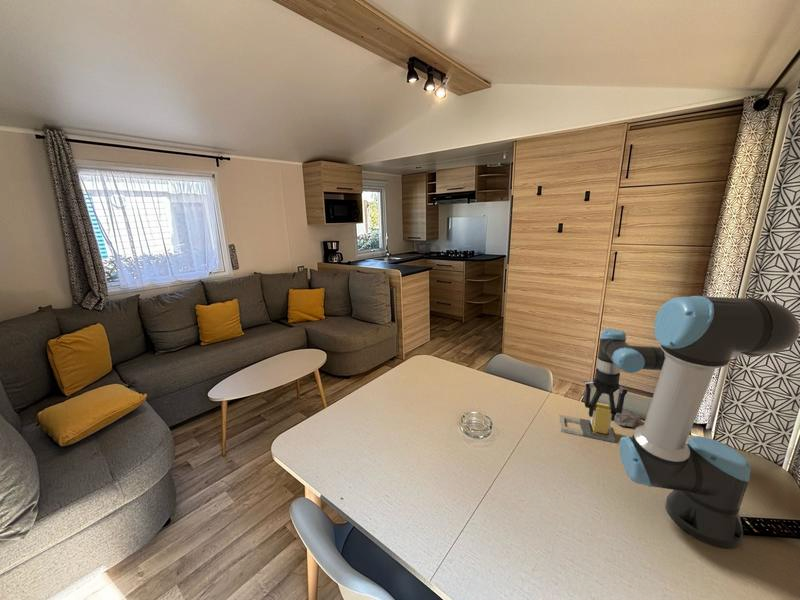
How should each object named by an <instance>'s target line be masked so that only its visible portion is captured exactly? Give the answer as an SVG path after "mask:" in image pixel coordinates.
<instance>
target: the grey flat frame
mask: <svg viewBox="0 0 800 600" xmlns="http://www.w3.org/2000/svg"><path fill="white" fill-rule="evenodd" d="M558 415H559V416H558V419H559V426H560V432H563V433H566V434H567V433H568V434H573V435H577V436H582V437H587V438H592V439H595V440H601V441H605V442H610V443H616V438H615V436H614V432H613V429H612V427H611V426H610V429H608V433H607V434H604V433H599V432H594V431H592V430H591V427H592V426H591V422H590V421H591V419H585V418H580V417H574V416H569V415H564V414H558ZM564 420H565V421H564ZM569 421H570V422H569ZM565 422H569V423H573V424H579V426H580V428H575V427H568V426H566V424H565Z"/></svg>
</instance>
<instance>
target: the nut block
mask: <svg viewBox="0 0 800 600" xmlns="http://www.w3.org/2000/svg"><path fill="white" fill-rule="evenodd" d="M595 410H596V414H595V421H594V426H591V427H592V432H594V433H599V434H604V435H608V434H607V433H608V426H609V420H610V414H611V408H610V404H605V403H602V402H601V403H600V402H597V404H596V406H595Z"/></svg>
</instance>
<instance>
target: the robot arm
mask: <svg viewBox="0 0 800 600" xmlns="http://www.w3.org/2000/svg"><path fill="white" fill-rule="evenodd" d="M653 327H654V328H655V329H654V337H655V339H656V341H657V342H658V344H659V345H660V347H659V346H645V345H644V346H643V345H641V346H640V345H630V344H628V343H627V342H626V341H627V334H626V332H624V331H622V330H620V329H616V328H615V329H614V328H605V329H602V330H601V334H600V337H599V345H598V353H597V360H596V361H597V362H596V365H595V367H596V369H595V375H594V379H593V380H592V381H587V380H586V381H585V382H584V385H585V394H584V406H585V408H586V409H587V408H588V416H589V417H590V420H591V421H590V422H591V426H590V427H592V426H594V421H595V414H596V410H595V406H596V404H597V403H599V402H598V401H599V399H600V397H601V396H602V395H605V394H606V395H608V401H609V407H610V410H611V414H610V420H609V426H608V429H610V427H611V424H612V423H611V422H615V421H614V419H615V415H616V413H622V409H624V407H623V406H624V402H625V397H626V395H627V394H628V390H627V388H626V387H625V386H620V384H619V383H620V377H621V372H622V371H623V372H624V373H629V374H634V373H637V372H640V371H641V370H646V371H647V370H648V371H649V370H651V371H660V373H659V377H658V380H657V383H656V386H655V389H654V392H653V395H652V399H651V401H650V404H649V407H648V411H647V413H646V417H645V420H644V424H642V425H638V426H637V427H636V428H634V430H633V435H632V436H628V435H627V436H622V437H621V438H620V440H619V445H618V446H619V453H620V454H619V456H620V460H621V463H622V467H623V469H624V471H625V473H626V475H627V476H628V478H629V479H630V480H631V482H633V483H635V484H638V485H642V486H647V487H650V488H651V487H652V488H659V489H665V490H672V491H670V493H669V494H667V497H666V501H665V504H664V506H665V510H666V513H667V515H668V516H669V517H670V518H671V520H672V521H673V522H674V523H675V524H676V525H677V526H679V528H681V529H682V530H683V531H684V532H686V533H688V535H690V536H692V537H694V538H695V539H697V540H699V541H701V542H703V543H706V544H708V545H711V546H713V547H716V548H722V549H735V548H738V547H739V546H740V545H741V544H742V540H743V536H744V531H743V525H742V520H741V517H740V509H741V506H742V503H743V499H744V496H745V494H746V490H747V487H748V485H749V482H750V480H751V478H750V477H751V471H752V467H751V464H750V463H749V461H748V459H746V457H745V456H743V455H742V454H741V453H740V452H738V451H737V450H736V449H734V448H733V447H730V446H728V445H726V444H725V443H722V442H720V441H718V440H715V439H713V438H710V437H707V436H700V435H694V436H691V437H690V438H689V435H690V433H691V431H692V428H693V425H694V422H695V421H696V418H697V416H698V413H699V410H700V408H701V405H702V404H703V400H704V397H705V395H706V394H707V390H708V387H709V385H710V383H711V381H712V378H713V375H714V373H715V370H716V369H719V368H724V367H726V366H727V365H728V364H729V363H730V360H731V358H735V357H741V356H744V355H745V356H749V357H759V356H766V355H771V354H774V353H779V352H782V351H784V350H786V349H789V348H790V347H791V346H792V345H794V343H795V342H796V341H797V340H798V339H799V336H800V321H798V318H797V317H796V316H795V314H794V313H793V312H792V311H791V310H789V308H786V307H785V306H784V305H782V304H780V303H777V302H775V301H772V300H768V299H763V298H755V297H744V298H743V297H724V296H723V297H720V296H703V295H691V296H677V297H673V298H672V299H670V300H667V301H666V302H665V303H664V304H663V305H662V306H661V307H660V308H659V310H658V311H657V314H656V315H655V319H654V323H653ZM593 387H594V388H595V392H594V395H593V397H592V398H591V391H592V390H591V389H592V388H593ZM617 390H618V397H617V404H616V405H615V396H614V393H615V392H617ZM590 400H591V401H590ZM688 438H689V439H688ZM687 442H688V443H687Z"/></svg>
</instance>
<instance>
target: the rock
mask: <svg viewBox="0 0 800 600" xmlns="http://www.w3.org/2000/svg"><path fill="white" fill-rule="evenodd" d="M641 419H642V418H641V416H640V415H638V414H637V413H634V411H632V410H630V409H624V408H622V413H616V415H615V419H614V421H613V422H615V424H617V425H618V426H621V427H630V428H634V427H635V426H637V425H638V424H639V423H640V420H641ZM638 422H639V423H638ZM637 423H638V424H637Z"/></svg>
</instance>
